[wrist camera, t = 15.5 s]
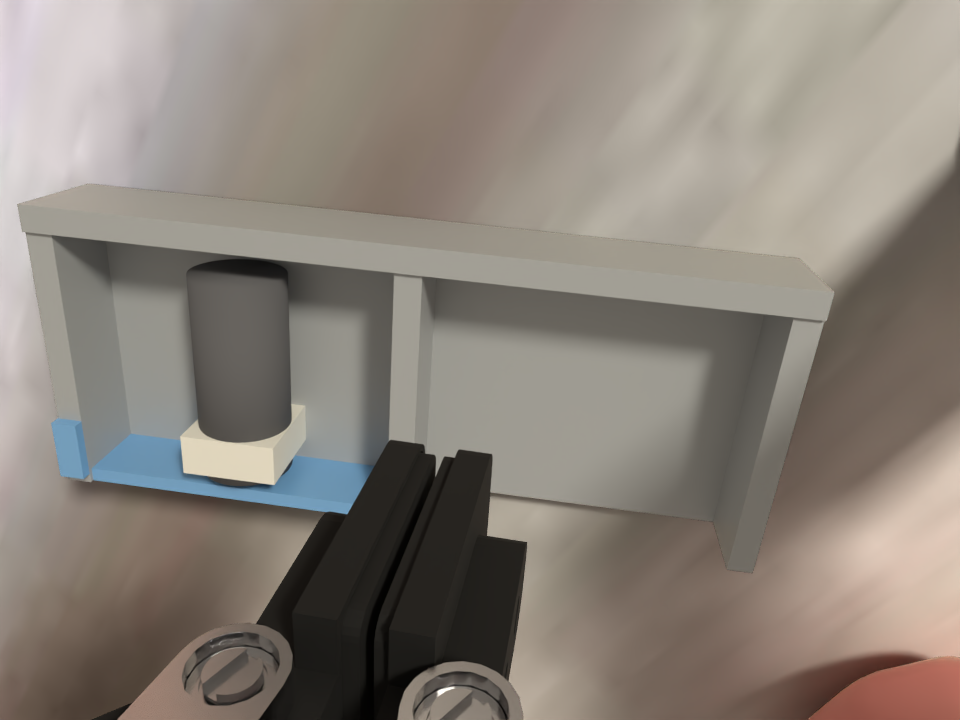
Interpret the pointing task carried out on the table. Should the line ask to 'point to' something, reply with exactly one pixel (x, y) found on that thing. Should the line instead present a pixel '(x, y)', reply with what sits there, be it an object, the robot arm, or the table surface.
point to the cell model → (900, 694)
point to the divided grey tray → (437, 353)
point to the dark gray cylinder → (241, 374)
